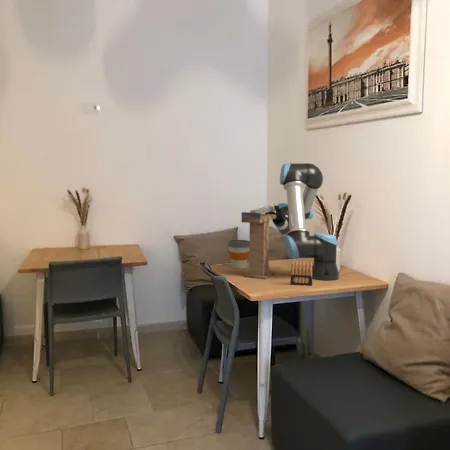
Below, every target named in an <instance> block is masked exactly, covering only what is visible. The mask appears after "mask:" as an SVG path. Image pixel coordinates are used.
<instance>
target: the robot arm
mask: <svg viewBox="0 0 450 450" xmlns="http://www.w3.org/2000/svg"><path fill="white" fill-rule="evenodd" d="M279 174H280V175H279V184H280V185H282V186H283V189H284V190H285V191H286V201H287V203H286V202H281V203H278V204H275V202H274V201H272V202H271V204H269V203H268V201H265V203H264V207H267V206H271V207H272V208H273V210H274V211H271V212H267V213H264V214H275V215H276V218H275V219H272V220H271V221H272V223H273V224H274V226H275V227H276V229H277V231H278V232H279V234H280V235H282V236H283V237H284V248H285V252H286V255H287V256H288V257H289V258H291V259H313V263H312V280H313V279H314V280H319V281H334V280H338V279H340V273H339V270H338V265H337V250H338V249H337V247H338V241H337V236H335V235H332V234H329V233H322V232H314V234H313V235H310V231H309V230H307V225H306V220H312V219H313V217H314V208H313V205H314V202H315V200H316V196H317V193H318V191H319V189H320V188H321V187H322V185H323V181H324V176H323V173H322V171H321V169H320V168H319V167H318V166H317V165H316V164H313V163H309V162H307V163H306V162H305V163H304V162H301V163H298V162H297V163H294V162H293V163H292V162H290V163H289V162H288V163H284V164H282V166H281V168H280V173H279Z"/></svg>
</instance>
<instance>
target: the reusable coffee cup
mask: <svg viewBox="0 0 450 450" xmlns="http://www.w3.org/2000/svg"><path fill="white" fill-rule="evenodd" d="M228 256H229V259H230V265H231V266H230V267H231V268H232V269H238V268H241V269H246V268H247V267H248V262H249V261H248V260H249V240H246V239H232V240H231V239H230V240H229V241H228Z"/></svg>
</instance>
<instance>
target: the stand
mask: <svg viewBox="0 0 450 450" xmlns="http://www.w3.org/2000/svg"><path fill="white" fill-rule="evenodd" d="M275 218H276V215H275V214H265V213H263V214H261V213H250V211H249V212H245V211H242V212H241V221H240V222H241V223H248V224H249V240H248V241H249V259H248V260H249V261H248V263H249V264H248V272H247V273H246V274H244V275H243V277H244V278H250V279H259V280H260V279H261V280H267V279H268V278H271V277H272V276H273V275H274V272H269V264H270V263H269V260H270V259H269V258H270V257H269V255H270V251H269V250H270V248H269V247H270V245H269V243H270V242H269V241H270V221H272V219H275Z"/></svg>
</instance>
